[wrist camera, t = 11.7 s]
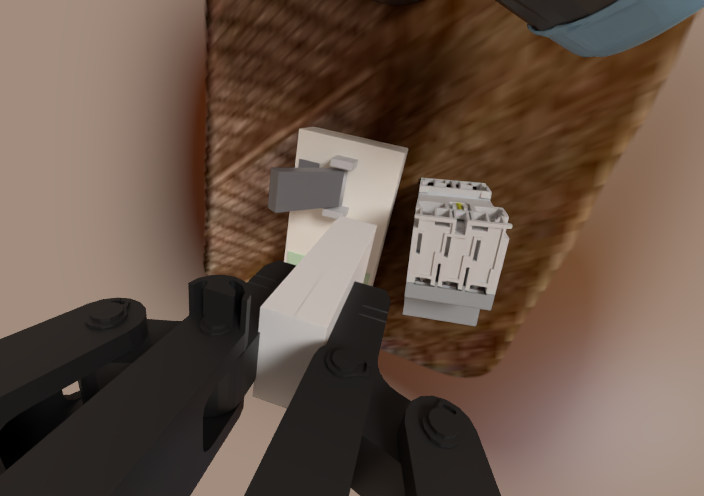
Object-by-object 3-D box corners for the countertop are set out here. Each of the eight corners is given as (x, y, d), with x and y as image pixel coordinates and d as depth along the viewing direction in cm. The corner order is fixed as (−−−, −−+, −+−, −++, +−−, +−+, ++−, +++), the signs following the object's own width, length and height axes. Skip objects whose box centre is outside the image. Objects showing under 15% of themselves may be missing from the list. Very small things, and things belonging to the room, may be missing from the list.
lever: (343, 166, 36) (271, 166, 30) (351, 170, 36) (278, 170, 30) (337, 202, 38) (267, 208, 32) (344, 206, 37) (274, 213, 31)
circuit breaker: (408, 279, 46) (397, 350, 32) (421, 177, 40) (415, 212, 27) (463, 287, 44) (476, 365, 31) (485, 183, 39) (513, 222, 25)
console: (314, 126, 41) (289, 129, 34) (408, 148, 39) (403, 156, 32) (294, 276, 50) (272, 303, 43) (369, 298, 48) (359, 329, 42)
